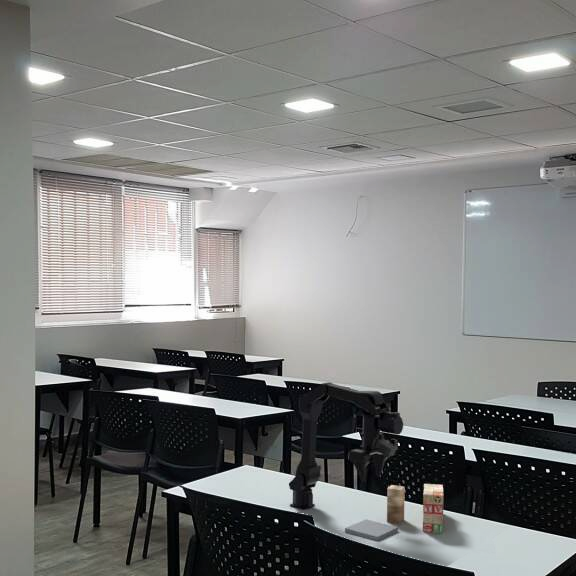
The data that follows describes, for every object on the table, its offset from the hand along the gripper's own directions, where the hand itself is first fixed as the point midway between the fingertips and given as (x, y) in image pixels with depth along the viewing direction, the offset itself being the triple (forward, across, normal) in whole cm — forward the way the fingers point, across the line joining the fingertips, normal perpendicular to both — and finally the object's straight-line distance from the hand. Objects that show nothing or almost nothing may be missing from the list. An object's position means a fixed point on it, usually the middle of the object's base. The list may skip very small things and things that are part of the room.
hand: (371, 478), depth 235 cm
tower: (+15, +8, -5) cm, 17 cm away
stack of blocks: (+15, +15, -15) cm, 26 cm away
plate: (+15, -6, -5) cm, 17 cm away
